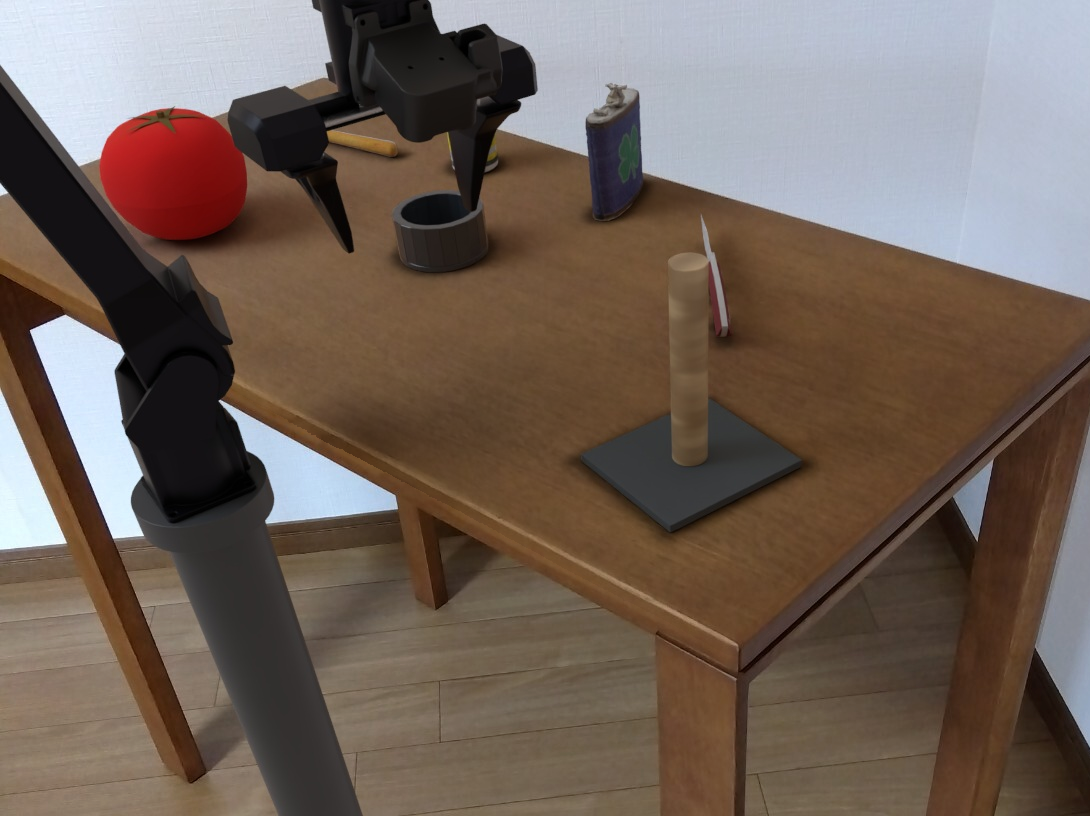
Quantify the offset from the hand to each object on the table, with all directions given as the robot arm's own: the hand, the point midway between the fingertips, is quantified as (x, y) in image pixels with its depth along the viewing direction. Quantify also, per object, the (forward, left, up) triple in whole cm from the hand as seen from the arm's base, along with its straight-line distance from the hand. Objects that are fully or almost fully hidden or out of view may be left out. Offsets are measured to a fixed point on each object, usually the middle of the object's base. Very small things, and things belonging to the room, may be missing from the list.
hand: (411, 230), depth 76 cm
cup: (+12, +21, -13) cm, 27 cm away
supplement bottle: (+24, +36, -13) cm, 45 cm away
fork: (+15, +53, -13) cm, 57 cm away
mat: (+9, -18, -13) cm, 24 cm away
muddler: (+9, -18, -12) cm, 24 cm away
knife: (+26, 0, -13) cm, 29 cm away
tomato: (-4, +42, -13) cm, 44 cm away
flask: (+30, +19, -13) cm, 38 cm away
